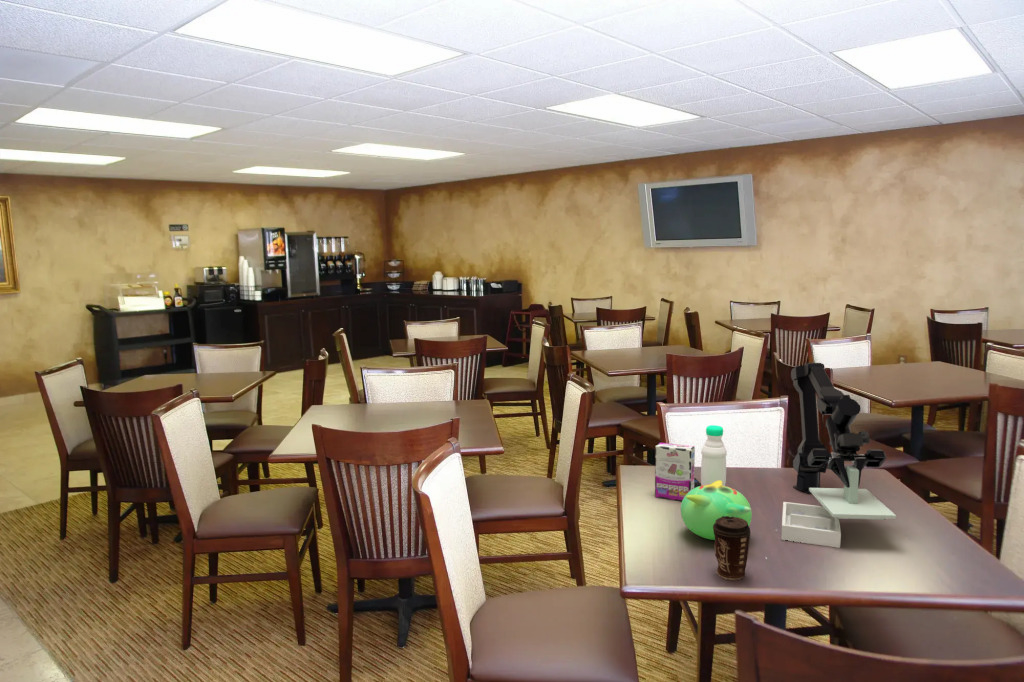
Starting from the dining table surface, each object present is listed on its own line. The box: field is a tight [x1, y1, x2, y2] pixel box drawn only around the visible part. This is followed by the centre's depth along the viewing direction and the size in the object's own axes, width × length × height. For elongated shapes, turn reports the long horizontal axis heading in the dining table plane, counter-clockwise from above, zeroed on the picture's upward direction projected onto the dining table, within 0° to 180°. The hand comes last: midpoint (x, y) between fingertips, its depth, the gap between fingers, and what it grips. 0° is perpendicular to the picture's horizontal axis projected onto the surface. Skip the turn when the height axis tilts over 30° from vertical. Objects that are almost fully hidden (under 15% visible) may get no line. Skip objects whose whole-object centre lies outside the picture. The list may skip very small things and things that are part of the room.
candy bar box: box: [654, 442, 696, 502], centre depth 216 cm, size 11×5×16 cm, turn 62°
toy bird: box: [680, 480, 753, 541], centre depth 186 cm, size 18×17×15 cm
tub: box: [780, 501, 842, 549], centre depth 191 cm, size 14×18×4 cm
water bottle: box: [700, 424, 728, 486], centre depth 205 cm, size 7×7×25 cm
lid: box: [809, 465, 897, 520], centre depth 187 cm, size 15×19×11 cm
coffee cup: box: [713, 516, 751, 581], centre depth 166 cm, size 9×8×13 cm
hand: (853, 487), depth 185 cm, fingers closed on lid
